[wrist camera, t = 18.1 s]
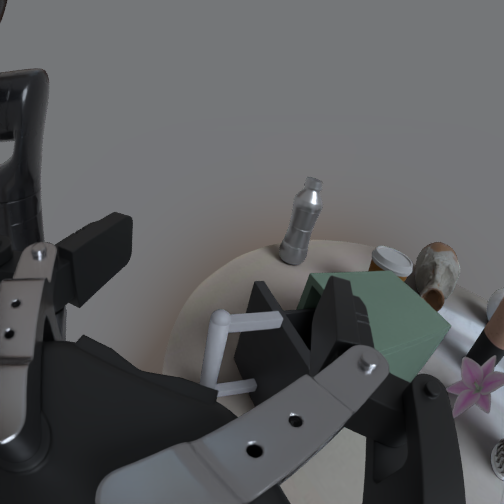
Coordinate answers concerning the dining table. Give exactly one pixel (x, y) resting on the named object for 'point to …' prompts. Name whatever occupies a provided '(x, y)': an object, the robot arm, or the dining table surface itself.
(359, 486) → the dining table surface
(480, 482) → the dining table surface
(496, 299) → the decorative ball
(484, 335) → the travel mug
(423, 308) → the green drawer cabinet
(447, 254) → the amphora
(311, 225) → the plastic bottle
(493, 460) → the black and white cylinder
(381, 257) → the disposable coffee cup
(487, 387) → the lily
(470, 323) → the dining table surface
